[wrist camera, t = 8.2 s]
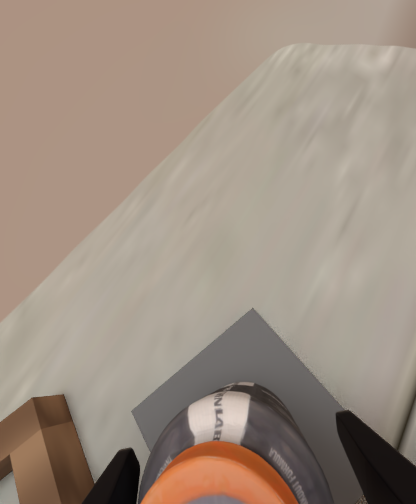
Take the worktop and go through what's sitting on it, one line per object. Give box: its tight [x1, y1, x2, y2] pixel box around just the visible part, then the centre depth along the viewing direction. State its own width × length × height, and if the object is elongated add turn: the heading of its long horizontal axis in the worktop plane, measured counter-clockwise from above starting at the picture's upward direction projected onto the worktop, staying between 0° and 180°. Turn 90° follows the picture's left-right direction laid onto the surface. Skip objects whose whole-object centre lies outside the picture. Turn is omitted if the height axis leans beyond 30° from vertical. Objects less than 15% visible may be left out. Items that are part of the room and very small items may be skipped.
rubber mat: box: [131, 308, 363, 504], centre depth 15 cm, size 11×11×1 cm
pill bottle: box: [138, 382, 334, 504], centre depth 9 cm, size 6×6×11 cm
